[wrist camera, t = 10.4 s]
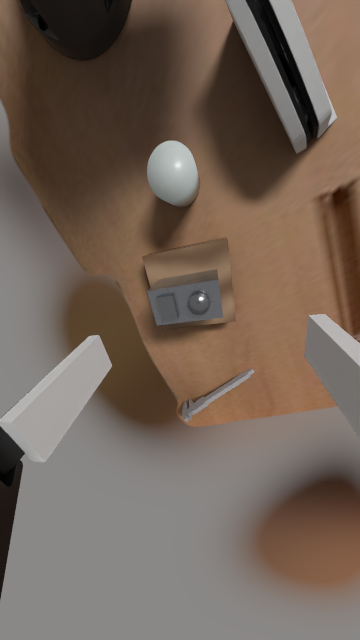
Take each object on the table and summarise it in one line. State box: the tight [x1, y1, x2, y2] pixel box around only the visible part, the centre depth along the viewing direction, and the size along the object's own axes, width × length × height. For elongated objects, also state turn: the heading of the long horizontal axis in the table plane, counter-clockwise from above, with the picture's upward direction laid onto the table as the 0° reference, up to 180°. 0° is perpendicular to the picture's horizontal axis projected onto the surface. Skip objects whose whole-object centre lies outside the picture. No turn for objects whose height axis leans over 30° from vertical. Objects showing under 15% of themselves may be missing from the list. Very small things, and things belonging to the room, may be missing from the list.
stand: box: [142, 238, 236, 330], centre depth 35 cm, size 14×14×4 cm
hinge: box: [225, 0, 337, 154], centre depth 21 cm, size 17×5×10 cm, turn 39°
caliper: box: [182, 369, 255, 422], centre depth 45 cm, size 20×1×6 cm, turn 131°
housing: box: [147, 269, 223, 326], centre depth 30 cm, size 10×6×8 cm, turn 102°
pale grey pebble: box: [147, 141, 200, 207], centre depth 27 cm, size 6×6×8 cm
